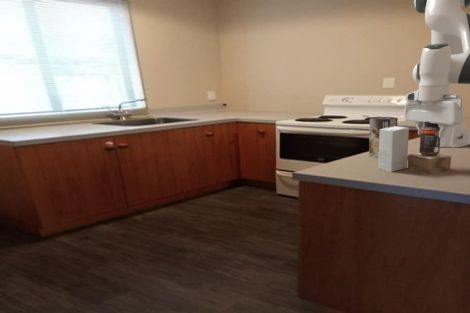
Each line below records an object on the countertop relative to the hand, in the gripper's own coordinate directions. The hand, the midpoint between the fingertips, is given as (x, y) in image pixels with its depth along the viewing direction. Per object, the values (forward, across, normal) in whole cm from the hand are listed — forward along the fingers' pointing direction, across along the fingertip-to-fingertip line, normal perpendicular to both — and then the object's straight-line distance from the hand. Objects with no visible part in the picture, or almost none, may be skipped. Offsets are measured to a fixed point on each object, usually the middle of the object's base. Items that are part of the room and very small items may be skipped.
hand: (430, 136), depth 112 cm
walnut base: (+12, 0, 0) cm, 12 cm away
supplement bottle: (+6, 0, 0) cm, 6 cm away
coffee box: (+12, +25, -2) cm, 27 cm away
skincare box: (+12, +6, +9) cm, 17 cm away
